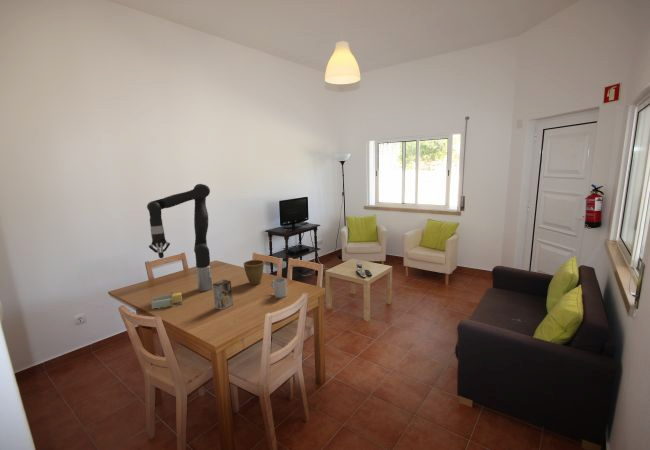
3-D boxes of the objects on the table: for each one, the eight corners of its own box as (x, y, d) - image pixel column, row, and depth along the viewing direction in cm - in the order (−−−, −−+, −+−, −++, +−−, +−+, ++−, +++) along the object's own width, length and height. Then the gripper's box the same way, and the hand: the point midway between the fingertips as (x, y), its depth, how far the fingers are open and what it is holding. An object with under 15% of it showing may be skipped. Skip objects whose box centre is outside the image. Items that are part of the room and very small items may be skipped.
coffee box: (226, 302, 205) (224, 279, 201) (233, 304, 201) (231, 280, 198) (214, 308, 197) (212, 283, 194) (221, 310, 194) (219, 285, 190)
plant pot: (269, 281, 240) (268, 261, 236) (255, 288, 227) (253, 266, 224) (255, 278, 247) (253, 258, 244) (240, 284, 235) (239, 263, 232)
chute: (182, 298, 213) (181, 290, 212) (181, 305, 201) (180, 297, 200) (154, 302, 207) (153, 295, 206) (151, 310, 195) (150, 302, 194)
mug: (289, 294, 215) (288, 279, 213) (280, 298, 208) (280, 283, 206) (276, 290, 222) (275, 275, 220) (267, 294, 215) (267, 279, 213)
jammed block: (181, 298, 209) (181, 291, 208) (181, 301, 205) (180, 294, 204) (173, 300, 207) (172, 293, 206) (173, 303, 203) (172, 296, 202)
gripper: (169, 230, 210) (172, 255, 213) (146, 232, 205) (150, 258, 208) (168, 232, 203) (172, 257, 206) (145, 234, 198) (149, 261, 201)
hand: (161, 257), depth 207 cm, fingers closed
